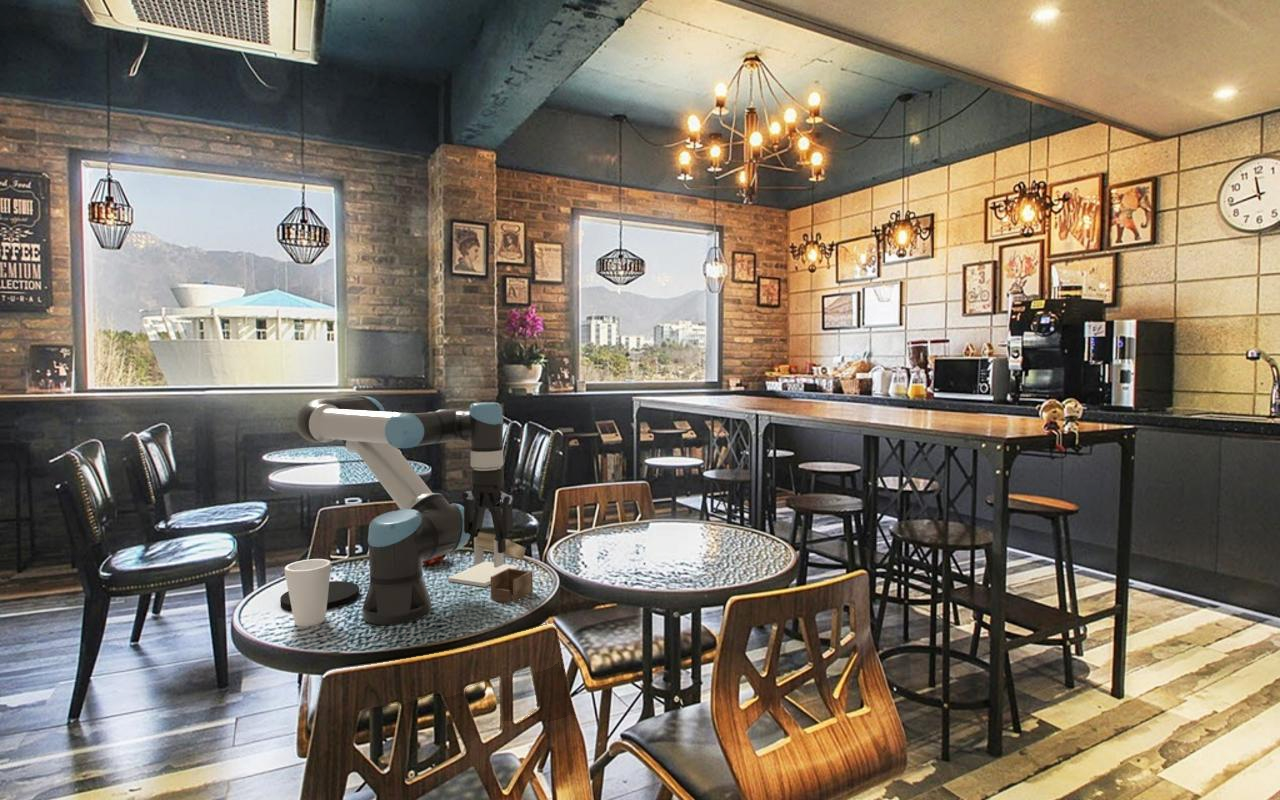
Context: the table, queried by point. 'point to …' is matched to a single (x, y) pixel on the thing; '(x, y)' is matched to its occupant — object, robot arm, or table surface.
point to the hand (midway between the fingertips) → (488, 564)
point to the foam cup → (308, 590)
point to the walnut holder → (511, 585)
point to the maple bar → (511, 547)
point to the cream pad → (479, 574)
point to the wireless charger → (331, 595)
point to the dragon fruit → (434, 560)
